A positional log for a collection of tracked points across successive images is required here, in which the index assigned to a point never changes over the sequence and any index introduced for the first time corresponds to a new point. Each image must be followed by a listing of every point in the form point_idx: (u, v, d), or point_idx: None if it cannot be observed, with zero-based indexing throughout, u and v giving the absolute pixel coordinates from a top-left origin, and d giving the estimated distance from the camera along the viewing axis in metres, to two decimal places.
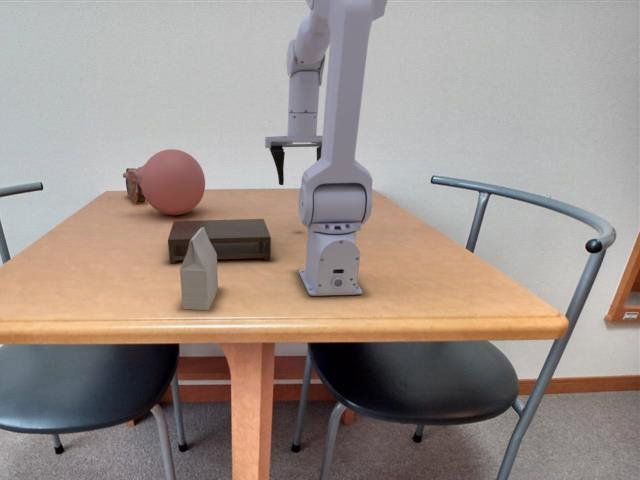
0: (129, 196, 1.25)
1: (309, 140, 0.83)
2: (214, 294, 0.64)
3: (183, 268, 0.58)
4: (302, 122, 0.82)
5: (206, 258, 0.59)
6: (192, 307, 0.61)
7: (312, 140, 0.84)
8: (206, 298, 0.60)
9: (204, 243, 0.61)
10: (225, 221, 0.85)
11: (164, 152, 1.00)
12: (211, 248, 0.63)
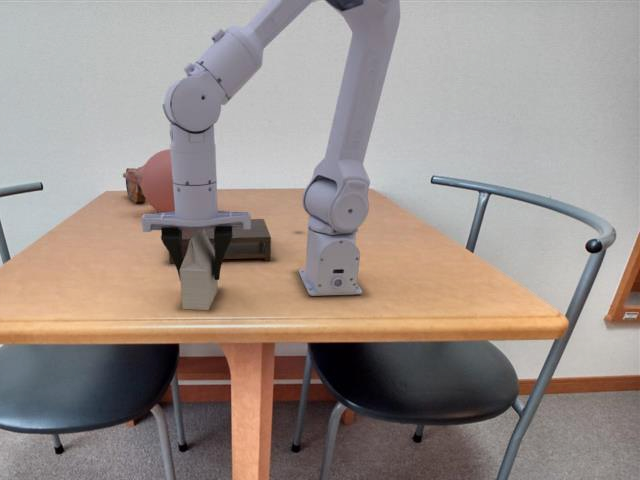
0: (129, 196, 1.25)
1: (203, 223, 0.56)
2: (214, 294, 0.64)
3: (183, 268, 0.58)
4: (190, 198, 0.54)
5: (206, 258, 0.59)
6: (192, 307, 0.61)
7: (208, 223, 0.56)
8: (206, 298, 0.60)
9: (204, 243, 0.61)
10: None
11: (164, 152, 1.00)
12: (211, 248, 0.63)
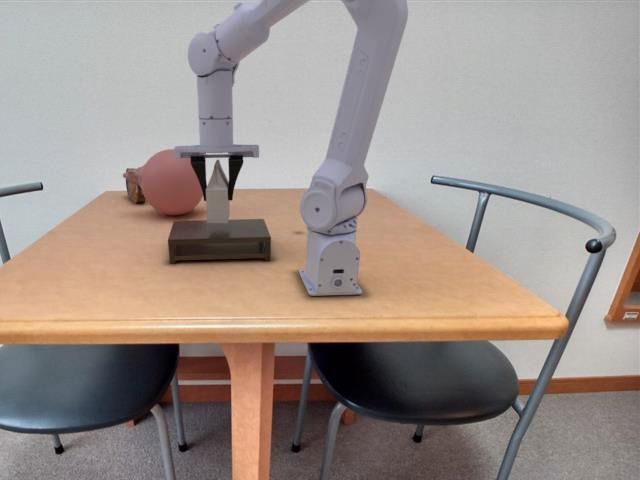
0: (129, 196, 1.25)
1: (222, 150, 0.72)
2: None
3: (208, 188, 0.74)
4: (212, 129, 0.71)
5: (225, 181, 0.76)
6: (215, 221, 0.77)
7: (226, 150, 0.72)
8: (226, 213, 0.76)
9: (221, 171, 0.77)
10: None
11: (164, 152, 1.00)
12: (225, 176, 0.79)
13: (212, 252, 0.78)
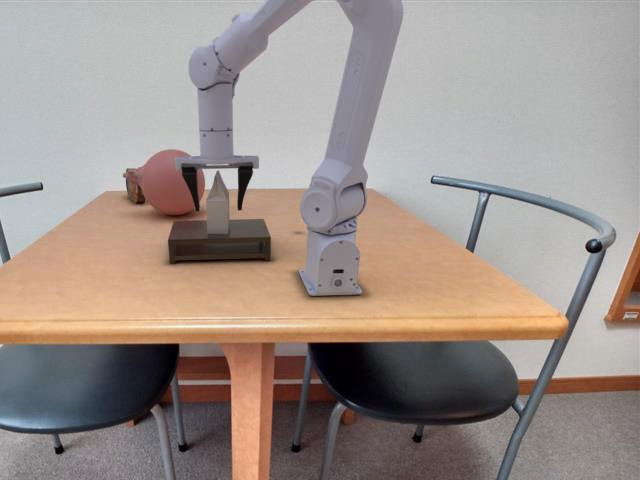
0: (129, 196, 1.25)
1: (223, 162, 0.73)
2: None
3: (209, 199, 0.75)
4: (213, 141, 0.71)
5: (225, 192, 0.77)
6: (215, 232, 0.78)
7: (226, 162, 0.73)
8: (226, 223, 0.77)
9: (221, 182, 0.78)
10: None
11: (164, 152, 1.00)
12: (225, 187, 0.80)
13: (212, 252, 0.78)
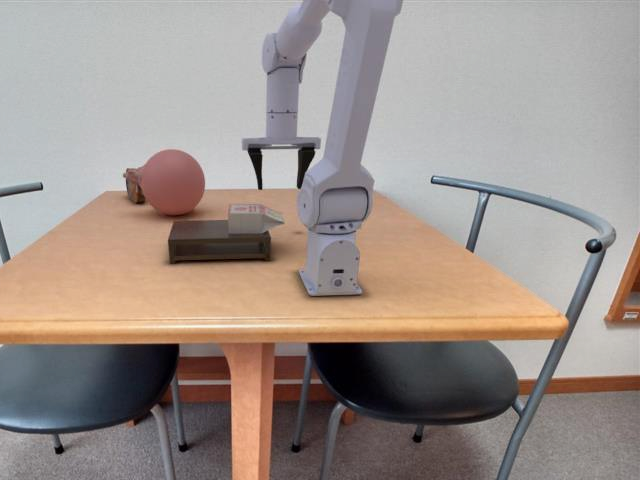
0: (129, 196, 1.25)
1: (288, 142, 0.78)
2: None
3: (262, 215, 0.76)
4: (280, 122, 0.76)
5: None
6: (229, 221, 0.77)
7: (292, 142, 0.78)
8: (238, 232, 0.78)
9: None
10: (225, 221, 0.85)
11: (164, 152, 1.00)
12: None
13: (212, 252, 0.78)
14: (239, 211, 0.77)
